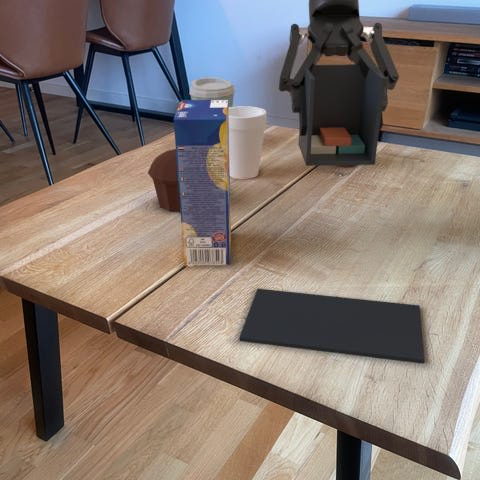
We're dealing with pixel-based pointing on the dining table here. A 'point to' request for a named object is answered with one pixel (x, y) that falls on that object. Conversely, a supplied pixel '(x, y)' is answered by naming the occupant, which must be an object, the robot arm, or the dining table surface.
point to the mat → (335, 325)
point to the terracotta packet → (335, 136)
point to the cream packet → (321, 146)
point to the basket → (343, 110)
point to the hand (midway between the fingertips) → (340, 130)
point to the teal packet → (352, 146)
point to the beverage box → (204, 180)
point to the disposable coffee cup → (212, 90)
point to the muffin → (166, 180)
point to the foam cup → (245, 140)
